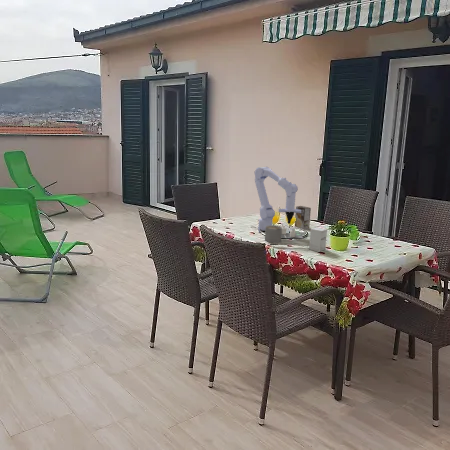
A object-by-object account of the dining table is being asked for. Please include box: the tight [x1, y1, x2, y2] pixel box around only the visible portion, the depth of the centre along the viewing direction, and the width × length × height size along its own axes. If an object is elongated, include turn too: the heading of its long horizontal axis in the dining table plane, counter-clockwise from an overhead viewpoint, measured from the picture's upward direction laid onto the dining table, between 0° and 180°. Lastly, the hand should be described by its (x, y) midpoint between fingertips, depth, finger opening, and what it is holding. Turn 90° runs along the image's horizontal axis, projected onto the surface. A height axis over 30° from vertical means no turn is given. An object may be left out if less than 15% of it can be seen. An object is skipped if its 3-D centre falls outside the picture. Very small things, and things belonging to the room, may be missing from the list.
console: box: [281, 230, 304, 240], centre depth 303 cm, size 15×20×2 cm
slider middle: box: [282, 226, 287, 234], centre depth 303 cm, size 3×3×4 cm
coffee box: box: [294, 205, 312, 230], centre depth 325 cm, size 9×6×16 cm
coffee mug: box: [264, 224, 282, 246], centre depth 286 cm, size 13×10×10 cm
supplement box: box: [308, 227, 328, 253], centre depth 273 cm, size 7×7×13 cm
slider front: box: [289, 229, 296, 237], centre depth 296 cm, size 3×3×4 cm
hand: (289, 223), depth 302 cm, fingers closed
